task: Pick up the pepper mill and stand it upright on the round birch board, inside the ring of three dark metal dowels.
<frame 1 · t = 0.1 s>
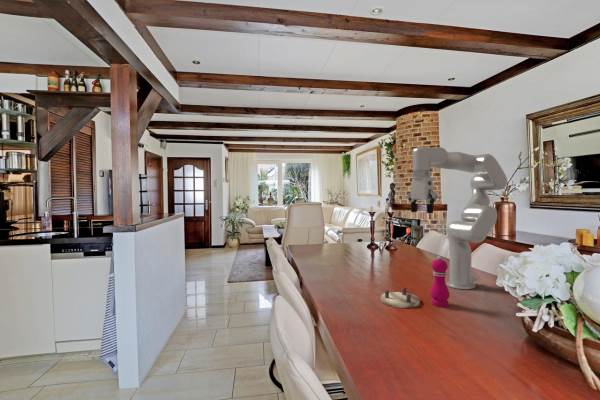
hand: (421, 212, 146), 37 cm above the table, tool pointing down, fingers open, 9 cm apart
dowel board: (399, 301, 135), on the table
pepper mill: (439, 305, 131), on the table
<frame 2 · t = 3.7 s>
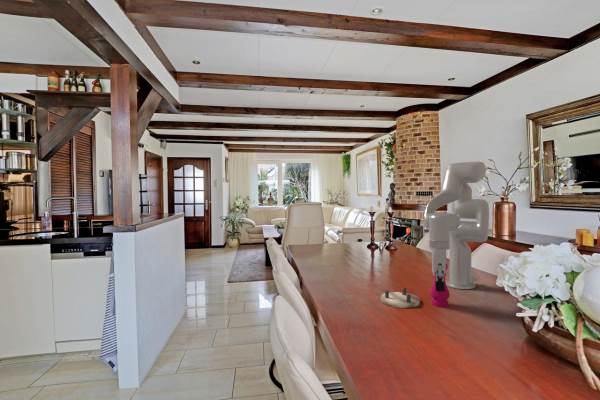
hand: (439, 288, 131), 7 cm above the table, tool pointing down, fingers closed on pepper mill, 5 cm apart
pepper mill: (439, 305, 131), on the table, touching gripper
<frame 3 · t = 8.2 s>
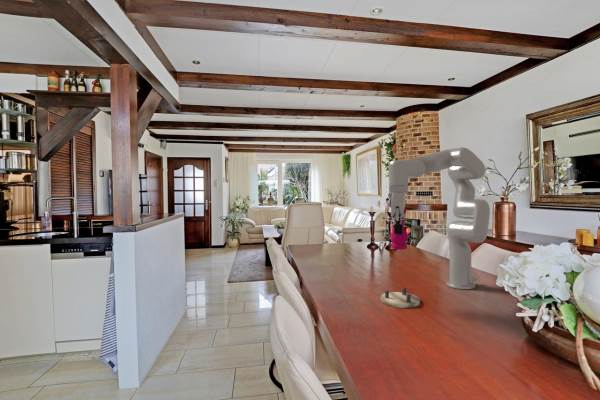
hand: (399, 232, 135), 29 cm above the table, tool pointing down, fingers closed on pepper mill, 5 cm apart
pepper mill: (399, 248, 135), point 22 cm above the table, touching gripper
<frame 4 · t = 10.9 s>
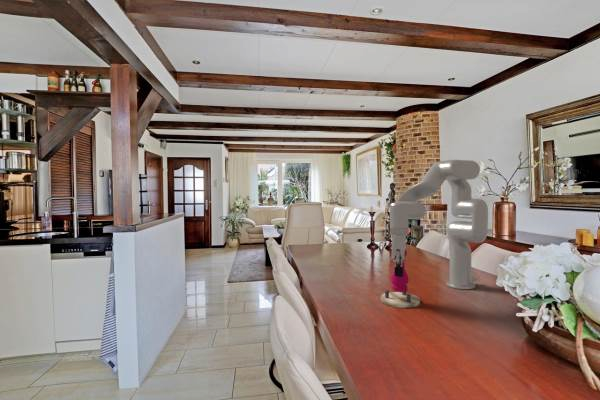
hand: (399, 274, 135), 12 cm above the table, tool pointing down, fingers closed on pepper mill, 5 cm apart
pepper mill: (399, 290, 135), point 5 cm above the table, touching gripper
when the fingers open (9 cm above the table, at t = 12.1 s): pepper mill drops 1 cm, resting on dowel board.
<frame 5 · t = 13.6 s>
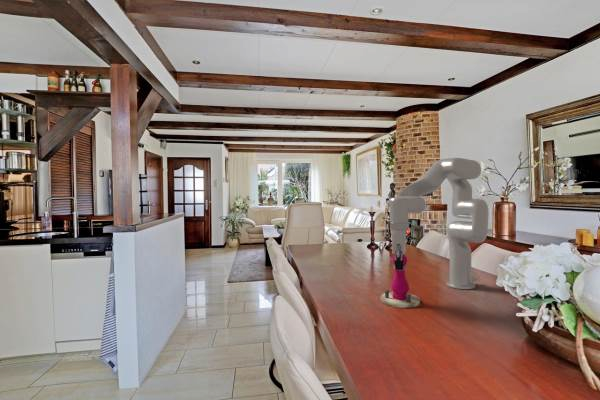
hand: (400, 266, 135), 15 cm above the table, tool pointing down, fingers open, 9 cm apart
pepper mill: (400, 298, 135), point 1 cm above the table, touching dowel board
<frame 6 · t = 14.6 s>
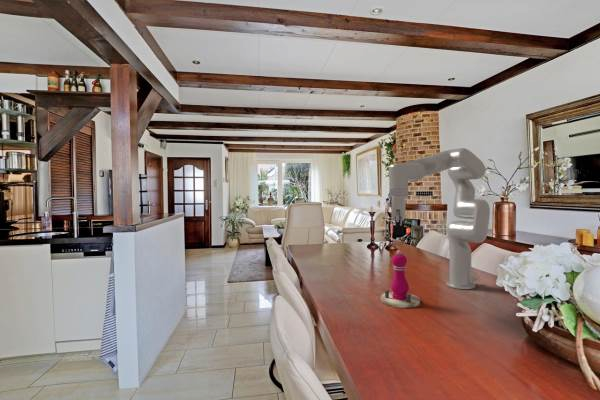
hand: (399, 233, 135), 29 cm above the table, tool pointing down, fingers open, 9 cm apart
nothing on the table moved.
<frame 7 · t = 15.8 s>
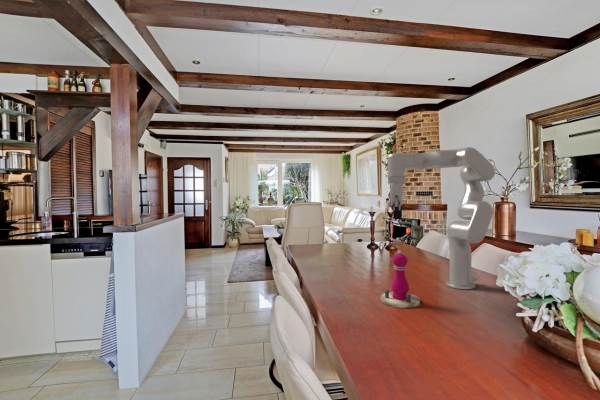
hand: (397, 218, 146), 34 cm above the table, tool pointing down, fingers open, 9 cm apart
nothing on the table moved.
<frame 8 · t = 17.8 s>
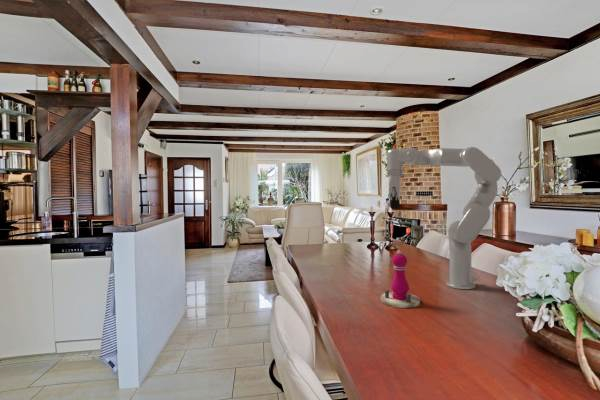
hand: (395, 207, 162), 38 cm above the table, tool pointing down, fingers open, 9 cm apart
nothing on the table moved.
at the end: pepper mill 0.2 cm off-centre on the dowel board, point 1.3 cm above the dowel board's base; pepper mill tilted 1°; the gripper is holding nothing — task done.
